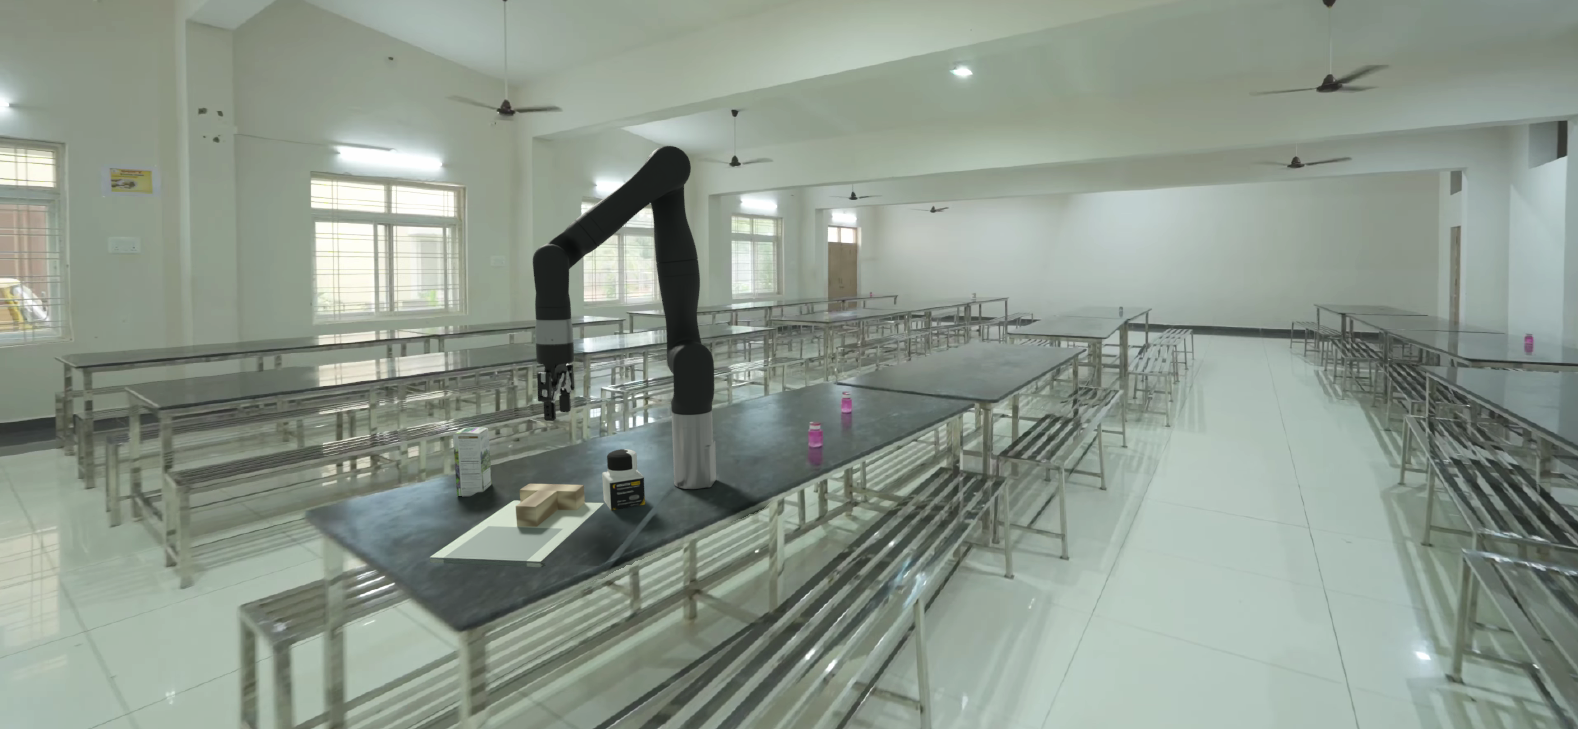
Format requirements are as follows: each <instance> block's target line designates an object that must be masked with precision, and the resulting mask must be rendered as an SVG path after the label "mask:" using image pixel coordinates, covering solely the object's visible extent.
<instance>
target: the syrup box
mask: <svg viewBox="0 0 1578 729" xmlns="http://www.w3.org/2000/svg"><path fill="white" fill-rule="evenodd" d="M452 440H453V441H452V442H453V456H454V458H453V459H454V470H455V485H456V496H457V497H458V496H462V497H471V496H474V495H475V494H477V493H483V492H485V491H486V490H487V489H488V488H489V487H490V486H492V484H493V483H492V480H493V479H492V465H491V464H492V463H491V450H490V449H491V448H490V434H489V428H488V427H481V426H479V427H478V426H473V427H470V426H469V427H463V428H461V429H460V430H458V431H456V432H454V433H453V434H452Z"/></svg>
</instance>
